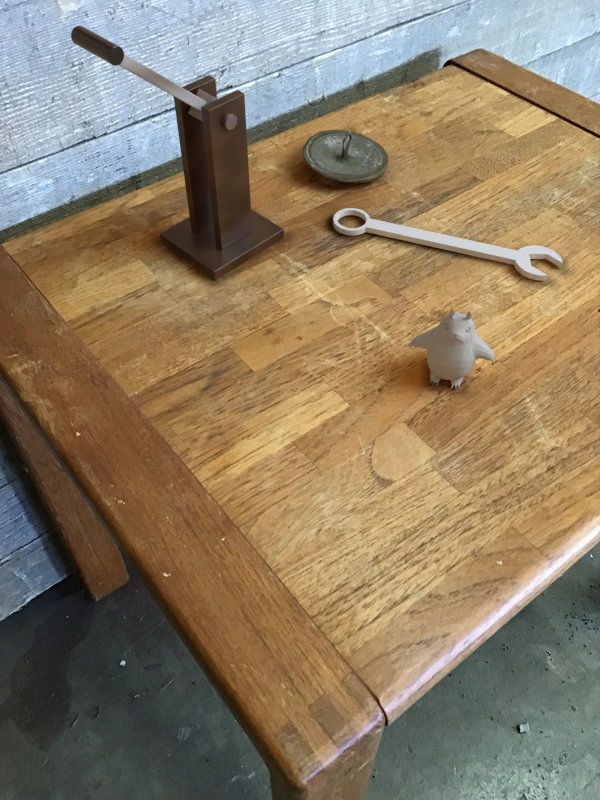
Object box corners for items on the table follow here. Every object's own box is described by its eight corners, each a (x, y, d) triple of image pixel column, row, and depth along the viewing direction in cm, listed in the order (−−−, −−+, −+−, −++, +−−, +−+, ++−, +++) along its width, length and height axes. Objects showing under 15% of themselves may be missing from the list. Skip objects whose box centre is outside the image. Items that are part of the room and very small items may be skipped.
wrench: (557, 284, 76) (563, 256, 78) (559, 279, 75) (565, 251, 78) (326, 232, 81) (340, 207, 84) (327, 227, 80) (340, 202, 83)
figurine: (399, 383, 67) (409, 321, 61) (409, 338, 71) (420, 276, 65) (488, 399, 66) (507, 338, 60) (493, 353, 69) (512, 291, 63)
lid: (298, 159, 93) (289, 126, 89) (372, 130, 93) (366, 96, 89) (323, 210, 87) (314, 177, 83) (402, 180, 87) (396, 145, 83)
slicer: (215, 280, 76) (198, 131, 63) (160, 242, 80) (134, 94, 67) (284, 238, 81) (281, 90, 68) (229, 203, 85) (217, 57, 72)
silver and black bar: (103, 67, 55) (116, 36, 55) (65, 45, 58) (77, 15, 57) (231, 137, 69) (242, 113, 69) (196, 118, 71) (207, 94, 71)
